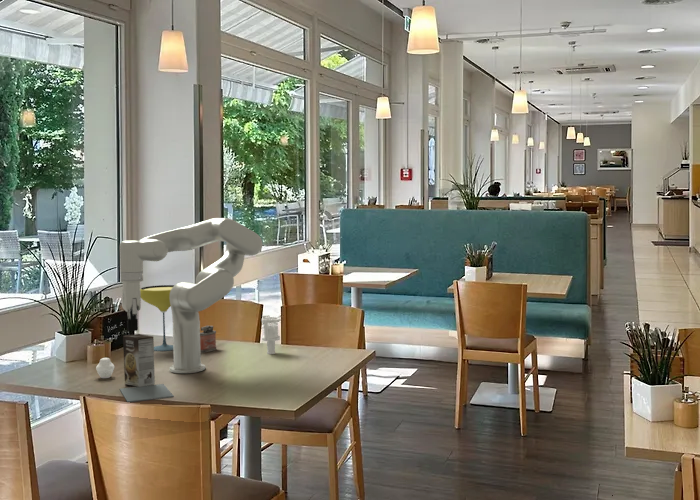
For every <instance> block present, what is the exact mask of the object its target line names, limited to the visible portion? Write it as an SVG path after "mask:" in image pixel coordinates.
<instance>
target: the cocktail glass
mask: <svg viewBox="0 0 700 500" xmlns="http://www.w3.org/2000/svg"><path fill="white" fill-rule="evenodd" d="M174 285H175V284H174ZM174 285H173V284H169V285H167V284H166V285H165V284H162V285H150V286H149V285H148V286H144V287H143V286H142V287H140V294H141V300H143V301H144V302H146V303H147V304H148V305H152V306H153V307H156V308H157V309H158V310H159V311H160V313H162V324H163V325H162V327H163V337H162V338H163V339H162V344H160V345H157V346H156V345H155V346H154V352H167V351H168V352H169V351H173V344H167V340H166V324H165V318H166V317H165V313H166V312H167V311H168V310H169V308H171V305H170V291H171V289H172V288H173V286H174Z"/></svg>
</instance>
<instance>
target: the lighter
mask: <svg viewBox="0 0 700 500" xmlns="http://www.w3.org/2000/svg"><path fill="white" fill-rule="evenodd" d="M216 334H217V331H216V330H214V325H205V326H200V352H201V353H208V352H212V351H215V350H217V344H216V343H217V339H216V336H217V335H216Z"/></svg>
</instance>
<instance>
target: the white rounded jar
mask: <svg viewBox="0 0 700 500" xmlns="http://www.w3.org/2000/svg"><path fill="white" fill-rule="evenodd" d="M115 368H116V367H115V365H114V363H112V361H111V358H109V357H102V358H100V360H99V363H98V364H97V365H96V367H95V369H96V372H97V374H98V375H99V377H100V378H101V379H109V378H111V376H112V374H113V373H114V369H115Z"/></svg>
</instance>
